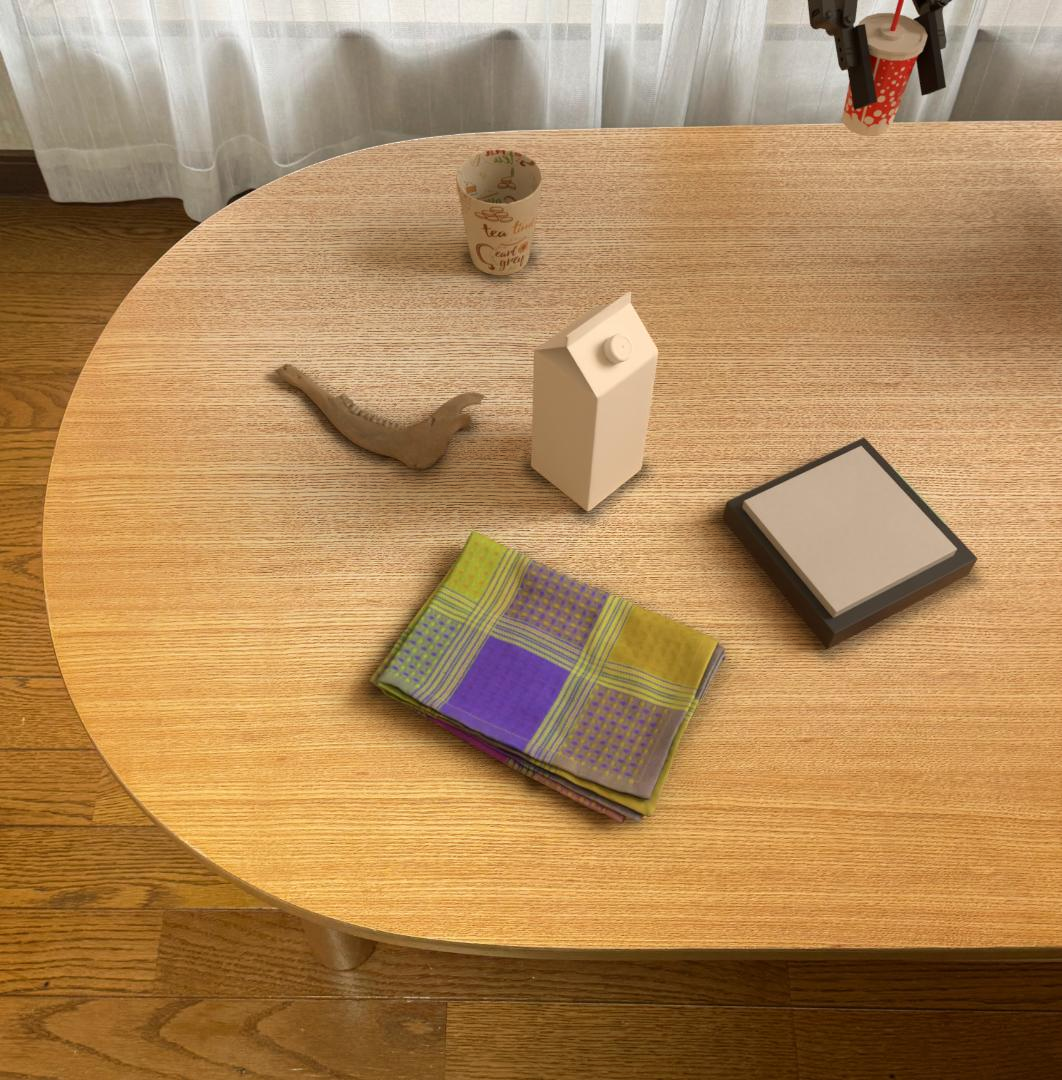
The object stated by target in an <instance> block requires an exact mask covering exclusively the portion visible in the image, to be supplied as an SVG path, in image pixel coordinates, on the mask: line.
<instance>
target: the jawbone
mask: <svg viewBox="0 0 1062 1080" xmlns="http://www.w3.org/2000/svg"><path fill="white" fill-rule="evenodd" d="M274 372H275V373H276V374H277V375H278V376H279V377H280V378H281V379H282V380H283V381H285V382H286V383H288V384H289V385H291V386H292V387H293V386H294V387H296V388H298V389H300V390H301V391H302V392H303V393H304V394H306V395H307V397H308V398H309V399H310V400H311V401H312V402H313V403H314V404H315V405H316V406H317V407H318V408H319V409H320V410H321V412H322V413H323V414H324V415H325V417H326V418H327V419H328V420H329V421H330V423H331V424H332V425H333V426H334V427H335V428H336V429H337V430H338V431H339V432H340V433H341V434H342V435H343V436H344V437H345V438H347V439H348V440H349V441H351V442H352V443H354V444H355V445H357V446H359V447H361V448H362V449H365V450H367V451H368V452H372V453H375V454H378V455H381V456H386V457H390V458H393V459H396V460H398V461H400V462H402V464H404V465H405V466H407V467H408V468H410V469H413V470H425V469H428V468H430V467H431V466H433V465H434V464H436V462H438V461H439V460H440V459H441V457H442V455H443V453H444V451H445V450H446V448H447V446H448V444H449V442H450V440H451V439H452V437H453V436H454V435H455V434H456V433H457V432H458V431H459V430H460V429H468V428H470V426H471V424H472V417H471V414H470V413H463V414H460V413H461V411H462V410H464V409H465V408H467V407H470V406H475V405H476V406H477V405H483V404H482V401H483V400H484V398H485V399H487V396H485V395H484V394H482V393H480V392H475V391H474V392H472V391H471V392H464V393H461V394H457V395H456V396H454V397H452V398H451V399H449V400H447V401H446V402H444V403H442V405H441V406H439V407H438V408H437V409H436V410H435V411H434V412H433V413H432V414H431V415H429V416H428V417H426V418H425V419H423V420H421V421H420V422H417V423H413V424H411V425H409V426H407V427H405V428H402V427H403V426H402V424H401V423H400V424H397V423H398V422H397V421H392V422H391V420H390V419H389V418H388V419H384V418H383V417H379V416H378V415H376V414H372V412H367V410H366V409H363V410H361V409H360V407H359V405H358V404H357V403H354V399H352V398H350V397H348V394H346V393H345V392H344V393H341V394H339V395H338V396H337V397H335V396H333V395H332V394H330V393H328V392H327V391H325V390H324V389H323V388H321V387H319V386H318V385H317V384H316V382H315V381H313V380H312V379H311V378H310V377H309V376H308V375H306V374H305V373H304V372H303V371H301V370H299V369H298V368H297V367H295V366H294V365H292V364H288V363H285V364H283V365H282V366H280V367H278V368H277V369H274Z"/></svg>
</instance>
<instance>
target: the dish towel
mask: <svg viewBox="0 0 1062 1080" xmlns="http://www.w3.org/2000/svg"><path fill="white" fill-rule="evenodd" d="M719 642H720V640H719V639H718V638H715V637H713V636H711V635H708V634H706V633H704V632H702V631H700V630H697V629H694V628H692V627H691V626H688V625H685V624H682V622H678V621H676V620H673V619H671V618H670V617H668V616H667V617H666V616H664V615H662V614H659V613H656V612H654V611H651V610H649V609H646V608H644V607H642V606H639V605H637V604H635V603H633V602H631V601H629V600H627V599H625V598H622V597H619V596H617V595H614V594H611V593H609V592H607V591H604V590H602V589H599V588H596V587H593V586H591V585H588V584H587V583H585V582H582V581H579V580H578V579H575V578H572V577H570V576H568V575H566V574H565V573H562V572H560V571H558V570H556V569H554V568H551V567H549V566H547V565H545V564H543V563H541V562H538V561H536V560H534V559H532V558H530V557H528V556H526V555H525V554H524V553H521V552H520V551H518V550H515V549H512V548H510V547H507V546H506V545H504V544H502V543H499V542H497V541H496V540H494V539H492V538H490V537H487V536H486V535H484V534H481V533H480V532H478V531H476V530H471V532H470V534H469V535H468V537H467V539H466V541H465V544H464V545H463V548H462V550H461V552H460V554H459V555H458V556H457V558H456V559H455V561H454V562H453V564H452V565H451V567H450V568H449V570H448V571H447V573H446V574H445V575H444V577H443V578H442V579H441V581H440V583H439V584H438V585H437V586H436V588H434V590H433V592H432V593H431V595H430V596H429V597H428V599H427V600H426V601H425V602H424V604H423V605H422V606H421V607H420V609H419V610H418V612H417V613H416V614H415V616H414V617H413V619H412V620H411V621H410V623H408V625H407V626H406V628H405V629H404V630H403V632H402V633H401V635H400V636H399V637H398V639H397V640H396V642H395V643H394V645H393V647H391V649H390V651H388V653H387V655H386V656H385V657H384V658H383V660H382V661H381V663H380V664H379V666H378V667H377V669H375V671H374V672H373V674H372V675H371V677H370V678H369V679H368V684H369V685H372V686H374V687H377V689H379V690H381V692H382V693H383V694H384V695H385V696H387V697H388V698H390V699H393V700H394V701H396V702H398V703H400V704H402V705H403V706H405V707H406V708H408V709H410V710H412V711H413V712H415V713H417V714H418V715H421V716H422V717H424V718H426V719H427V720H430V721H431V722H433V723H434V724H437V725H438V726H440V727H442V728H443V729H445V730H446V731H448V732H450V733H452V734H453V735H455V736H456V737H458V738H460V739H461V740H463V741H464V742H465V743H468V744H470V745H471V746H473V747H474V748H476V749H478V750H480V751H482V752H483V753H484V754H486V755H488V756H490V757H492V758H493V759H495V760H498V762H499V761H500V762H501V763H503V764H505V765H506V766H508V767H509V768H511V769H512V770H515V771H517V772H519V773H522V775H525V776H527V777H528V778H530V779H533V780H535V781H537V782H538V783H540V784H542V785H545V786H546V787H548V788H550V789H551V790H554V791H556V792H558V793H559V794H561V795H562V796H565V797H567V798H569V799H571V800H572V801H574V802H576V803H579V804H580V805H582V806H583V807H585V808H588V809H591V810H593V812H596V813H597V814H603V815H606V816H608V817H609V818H611V819H612V820H613V821H615V822H616V823H618V824H621V825H622V824H623V823H624V822H625V820H626V819H627V818H629V820H632V821H634V822H636V823H640V822H641V821H642V819H643V818H644V816H645V817H647V818H651V817H652V816H653V814H654V813H655V811H656V809H657V806H658V805H659V804H658V803H659V801H660V798H661V795H662V793H663V790H664V787H665V785H666V782H667V780H668V777H669V774H670V771H671V769H672V766H673V765H672V764H673V760H674V758H675V755H676V752H677V750H678V748H679V745H680V743H681V740H682V738H683V735H684V733H685V731H686V729H687V728H688V725H689V724H690V722H691V721H692V719H693V717H694V715H695V713H696V711H697V710H698V708H699V706H700V704H701V702H702V700H703V699H704V697H705V694H706V693H707V690H708V688H709V686H710V684H711V682H712V681H713V680H714V677H715V676H716V674H717V672H718V671H719V670H720V668H721V666H722V664H723V663H724V661H725V659H726V657H727V656H726V653H725V651H726V648H725V647H724V646H723V645H720V644H719Z"/></svg>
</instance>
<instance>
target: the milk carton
mask: <svg viewBox="0 0 1062 1080" xmlns="http://www.w3.org/2000/svg"><path fill="white" fill-rule="evenodd" d="M631 299H632V292H631V291H628V292H626V293H625V294H623V295H622V296H620V297H619V298H618V299H616V300H615V301H613V302H612V303H610V304H604V305H599V306H594V307H593V308H591V309H589V310H588V311H587V312H586V313H584V314H582V315H581V316H580V317H578V318H577V319H576V320H574V321H573V322H571V323H569V324H568V325H567V326H565V327H564V328H563V329H561V330H559V332H557V333H556V334H554V335H553V336H551V337H550V338H548V339H546V341H544V342H543V343H542V344H540V345H538V346H537V347H536V348H534V349H533V367H532V369H533V370H532V372H533V375H532V413H531V414H532V415H531V417H532V419H531V455H530V458H531V459H530V466H531V468H532V469H533V470H534V471H536V472H537V473H538V474H540V475H541V477H543V478H545V479H546V480H547V481H548V482H549V483H551V484H552V485H553V486H554V487H555V488H557V490H559V491H561V492H562V493H563V494H564V495H566V496H567V498H570V499H571V500H572V501H573V502H575V503H576V504H577V505H578V506H579V507H580V508H582V510H585V512H590V511H592V509H594V508H595V507H596V506H598V505H599V504H600V503H601V502H603V501H604V500H605V499H606V498H608V497H609V496H610V495H611V494H612V493H614V492H615V491H616V490H618V489H619V488H620V487H621V486H623V485H624V484H625V483H626V482H627V481H629V480H630V479H631V478H633V477H634V476H635V475H636V474H637V473H638V472H640V471H641V470H642V467H643V462H644V461H643V460H644V454H645V447H646V441H647V435H648V434H647V433H648V427H649V420H650V412H651V406H652V401H653V400H652V399H653V392H654V386H655V378H656V372H657V366H658V358H659V349H658V348H657V347H658V346H657V345H656V344H655V342H654V339H652V337H651V335H650V334H649V331H648V330H647V328H646V326H645V325H644V323H643V321H642V320H641V318H640V316H639V315H638V313H637V311H636V310H635V308H634V306H633V304H632V302H631Z"/></svg>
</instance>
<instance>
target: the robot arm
mask: <svg viewBox="0 0 1062 1080" xmlns="http://www.w3.org/2000/svg"><path fill="white" fill-rule="evenodd" d="M952 1H953V0H911V2H912V4H913V6H914V8H915V10H916V13H917V15H918V16H917V17H914V18H912V19H913V20H915V21H917V22H918V23H919V24H920V25H922V26H923V27H924V28H925V31H926V33H927V35H928V36H927V40H926V43H925V46H924V48H923V51H922V52H921V53H920V54H919V55H918V57H917V60H916V62H915V63H916V68H917V75H918V82H919V88H920V95H921V96H927V95H931V94H932V93H936V92H938V91H941V90H943V89H946V88H947V85H946V84H947V83H946V77H945V70H944V64H943V56H942V50H944V49H946V47H947V35H946V26H945V20H944V14H943V13H944V12H943V11H944V9H945V7H946V6H948V5H949V3H950V2H952ZM858 2H859V0H807V8H808V19H809V26H810V27H811V29H813V30H819V29H821V30H825V33H826V34H827V36H830V37H833V39H834V45H835V51H836V57H837V63H838V67H839V69H840V70H841V72H843V71H847V76H848V83H849V82H850V88H851V94H852V101H853V107H854V110H855V109H860V108H863V107H866V106H868V105H870V104H873V103H875V102H877V97H876V91H875V85H874V78H873V72H872V65H871V59H870V53H869V46H868V40H867V34H866V27H865V24H862V25H858V24H857V25H856V26H855V24H856V20H857V11H858V10H857V9H858V4H859V3H858Z"/></svg>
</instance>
